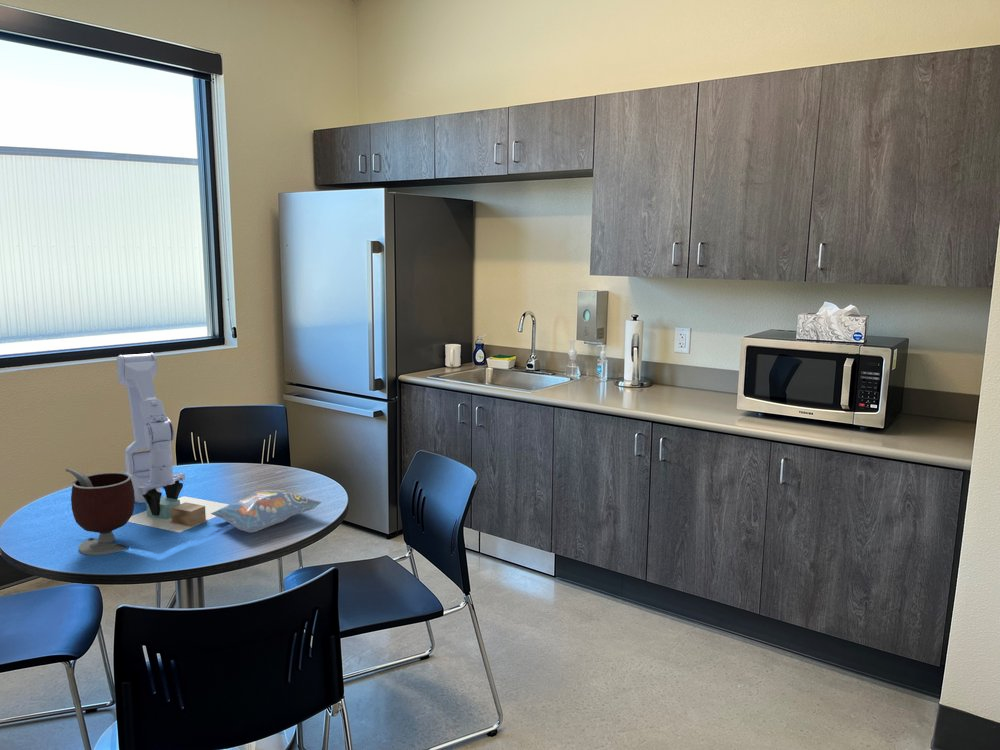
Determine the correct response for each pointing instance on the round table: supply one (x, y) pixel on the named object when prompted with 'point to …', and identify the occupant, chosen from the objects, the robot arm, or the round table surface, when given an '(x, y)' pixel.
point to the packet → (264, 509)
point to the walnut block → (188, 514)
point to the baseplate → (168, 523)
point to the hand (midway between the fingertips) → (163, 511)
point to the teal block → (164, 507)
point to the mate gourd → (102, 508)
